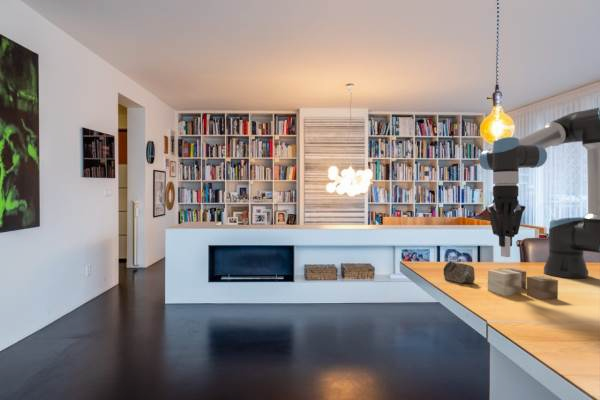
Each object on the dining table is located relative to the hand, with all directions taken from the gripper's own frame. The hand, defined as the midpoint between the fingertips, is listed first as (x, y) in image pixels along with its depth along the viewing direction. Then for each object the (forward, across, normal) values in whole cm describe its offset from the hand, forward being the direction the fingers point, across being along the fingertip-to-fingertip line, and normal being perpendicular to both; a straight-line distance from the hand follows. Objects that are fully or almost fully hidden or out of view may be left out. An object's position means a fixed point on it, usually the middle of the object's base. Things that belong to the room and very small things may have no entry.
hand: (505, 256), depth 133 cm
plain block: (+12, +1, 0) cm, 12 cm away
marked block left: (+12, -7, +7) cm, 16 cm away
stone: (+12, +7, -18) cm, 23 cm away
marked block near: (+12, -7, -7) cm, 16 cm away
